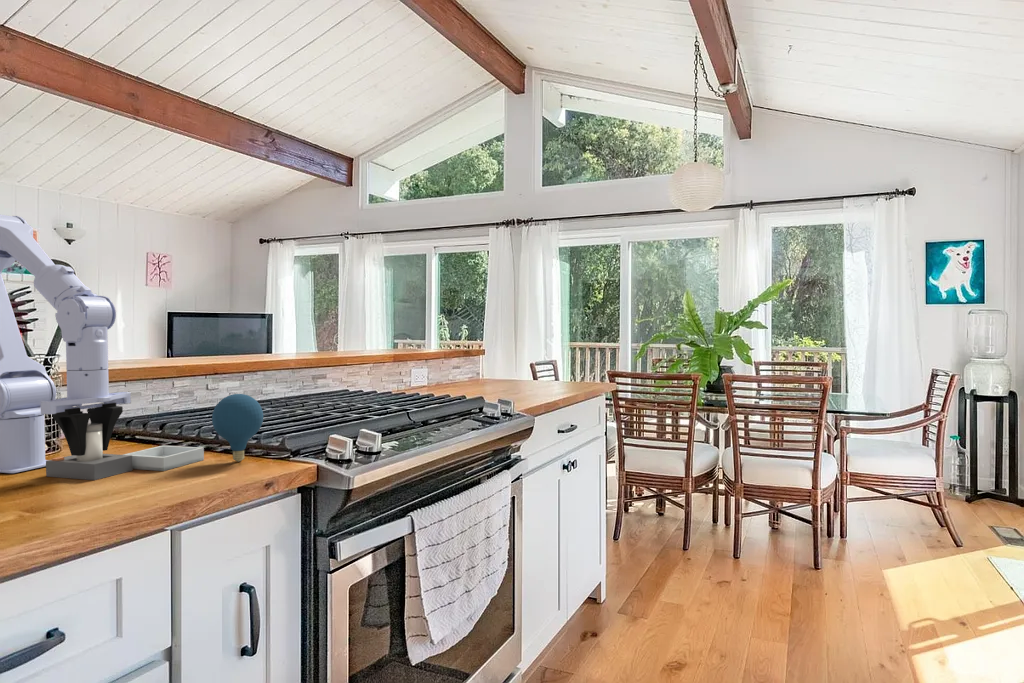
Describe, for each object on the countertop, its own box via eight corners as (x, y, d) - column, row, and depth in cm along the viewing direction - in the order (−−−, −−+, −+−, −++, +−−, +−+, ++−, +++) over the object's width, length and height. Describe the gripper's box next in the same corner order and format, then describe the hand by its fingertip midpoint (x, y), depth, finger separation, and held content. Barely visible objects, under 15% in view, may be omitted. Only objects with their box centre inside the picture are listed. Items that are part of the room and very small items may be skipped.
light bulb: (245, 467, 109) (244, 397, 109) (201, 465, 111) (200, 396, 111) (273, 457, 117) (272, 391, 117) (232, 455, 119) (231, 391, 119)
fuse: (70, 475, 104) (69, 426, 104) (91, 470, 108) (90, 422, 108) (88, 476, 103) (87, 426, 103) (109, 471, 107) (107, 423, 107)
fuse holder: (46, 476, 104) (45, 459, 103) (86, 467, 110) (85, 450, 110) (94, 480, 101) (94, 462, 101) (132, 470, 108) (132, 453, 107)
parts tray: (121, 467, 109) (120, 455, 109) (163, 457, 118) (163, 445, 118) (163, 470, 107) (163, 457, 107) (203, 459, 116) (203, 447, 116)
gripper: (64, 373, 97) (66, 463, 97) (144, 367, 111) (145, 445, 111) (29, 372, 99) (31, 460, 99) (111, 366, 113) (113, 443, 113)
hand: (89, 452), depth 105 cm, fingers closed on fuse, 4 cm apart
